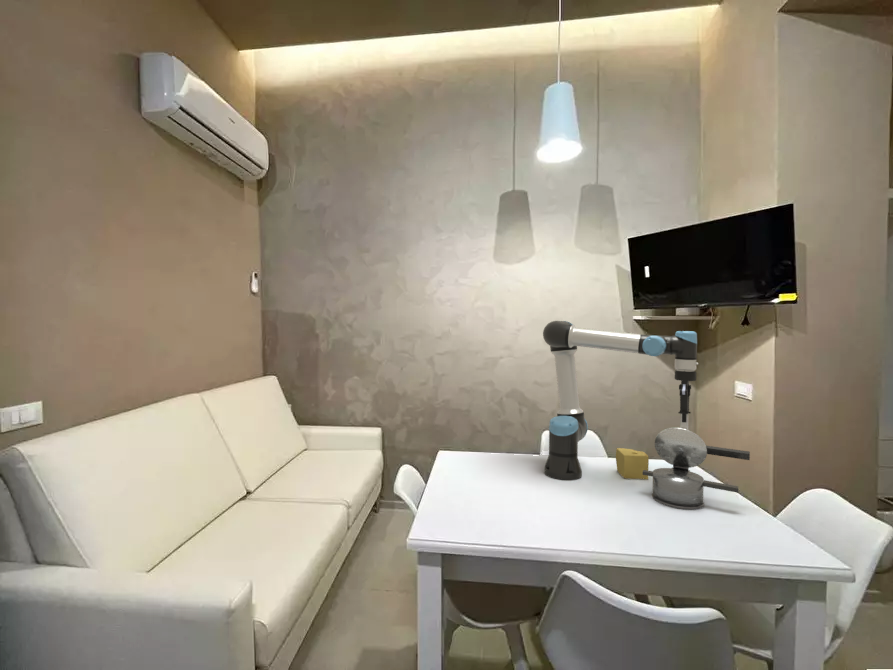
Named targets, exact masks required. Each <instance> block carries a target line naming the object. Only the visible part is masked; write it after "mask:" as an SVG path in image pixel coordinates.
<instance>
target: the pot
mask: <svg viewBox="0 0 893 670" xmlns="http://www.w3.org/2000/svg"><path fill="white" fill-rule="evenodd" d="M643 475H647V476H648V477H652V493H651V498H652V499H653V500H654V501H655V502H657V503H659V504H660V505H663V506H666V507H669V508H672V509H678V510H686V511H687V510H688V511H689V510H690V511H692V510H693V511H695V510H700V509H702V508H704V506H705V504H704V503H705V500H704V488H705V487H706V488H710V489H715V490H720V491H727V492H730V493H731V492H733V493H737V494H738V493H739V486H738V485H733V484H727V483H723V482H722V483H721V482H717V481H711V480H706V479H704V477H703V476H702V475H700V474H697V473H696V472H693V471H691V470H690V469H689V470H683V469H677V468H673V467H660V468H656V469H654V470H649V469H648V470H643Z"/></svg>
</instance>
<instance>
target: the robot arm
mask: <svg viewBox="0 0 893 670" xmlns="http://www.w3.org/2000/svg"><path fill="white" fill-rule="evenodd" d="M542 337H543V340H544V343H546V344H547V345H548V346H550V348H549V349H550V353H551V354H552V355H554V361H555V362H554V363H555V373H556V381H557V382H556V383H557V392H558V393H557V394H558V401H559V409H558V410H557V411H556V416H554V417H551V418H550V420H549V423H548V424H549V425H548V456H547V458H546V461H545V463H544V464H545V465H544V467H543V468H544V474H545V475H546V476H548V477H549V478H553V479H557V480H562V481H563V480H564V481H565V480H566V481H573V480H579V479H580V478H582V476H583V475H582V474H583V471H582V467H581V463H580V459H579V457H578V456H579V455H578V449H579V448H578V446H579V445H578V443H579V442H580V441H582V440H583V439H584V438H585V437H586V435H587V432H588V430H589V429H588V427H589V426H588V421H587V420H586V418H585V413H584V410H583V409H582V408H581V407H580V398H579V388H578V380H577V369H576V359H575V358H576V357H575V354H576V352H577V351H578V347H583V348H589V349H590V348H591V349H598V350H607V351H615V352H624V353H632V354H639V355H647V356H650V357H659V356H661V355H674V369H675V371H674V380H676V381H680V382H681V383H680V384H679V385H678V390H679V407H680V409H679V411H678V414H680V417H679V418H680V423H679V424H680V425H679V428H684V429H688V430H689V419H690V418H689V415H690V414H691V413H692V412H691V411H690V396H691V389H692V385H691V384H690V382H695V381H697V371H696V370H697V366H698V365H699V362H697V361H698V360H697V359H698V357H697V356H698V333H697V332H696V331H690V330H685V331H684V330H682V331H681V330H678V331H676V332H675V334H674V335H654V334H641V333H633V332H632V333H630V332H622V331H613V330H612V331H611V330H604V329H603V330H602V329H596V328H595V329H594V328H592V329H591V328H581V327H576V326H575V324H573V323H571V322H570V321H567V320H553V321H551V322H548V323H547V324H546V325H545V327H544V329H543V331H542Z"/></svg>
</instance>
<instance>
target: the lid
mask: <svg viewBox="0 0 893 670" xmlns="http://www.w3.org/2000/svg"><path fill="white" fill-rule="evenodd" d="M654 448H655V451H656V454H657V455H658V456H659V457H660V458H661V459H662V460H663V461H665V462H666V463H668V464H670V465H672V468H677V469H683V470H690V469H691V468H695V467H698V466H699V465H701V464H703V462H705V460H706V458H707V455H712V456H718V457H723V458H731V459H732V458H733V459H739V460H744V461H750V458H751V457H750V456H751V451H748V450H741V449H733V448H727V447H718V446H712V445H707V444H706V442H705V441H704V440H703V438H702V437H701V436H700V435H698V434H697V433H695V432H694V431H691V430H690V429H689V428H688V429H684V428H680V427H678V426H677V427H675V426H674V427H668V428H665V429H663V430H661V431H659V432H658V433H657V435H656V437H655V440H654Z"/></svg>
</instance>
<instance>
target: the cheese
mask: <svg viewBox="0 0 893 670" xmlns="http://www.w3.org/2000/svg"><path fill="white" fill-rule="evenodd" d="M649 460H650V459H649V455H648V454H647V453H646V452H644V451H642V450H641V451H639V450H635V449H632V448H623V447H621V448H620V447H618V448H616V452H615V463H616V470H617V473H618V474H619V475H620V476H621V477H623V479H626V480H627V479H629V480H630V479H633V480H649V476H647V475H643V470H648V471H649V464H650V463H649V462H650V461H649Z"/></svg>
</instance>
